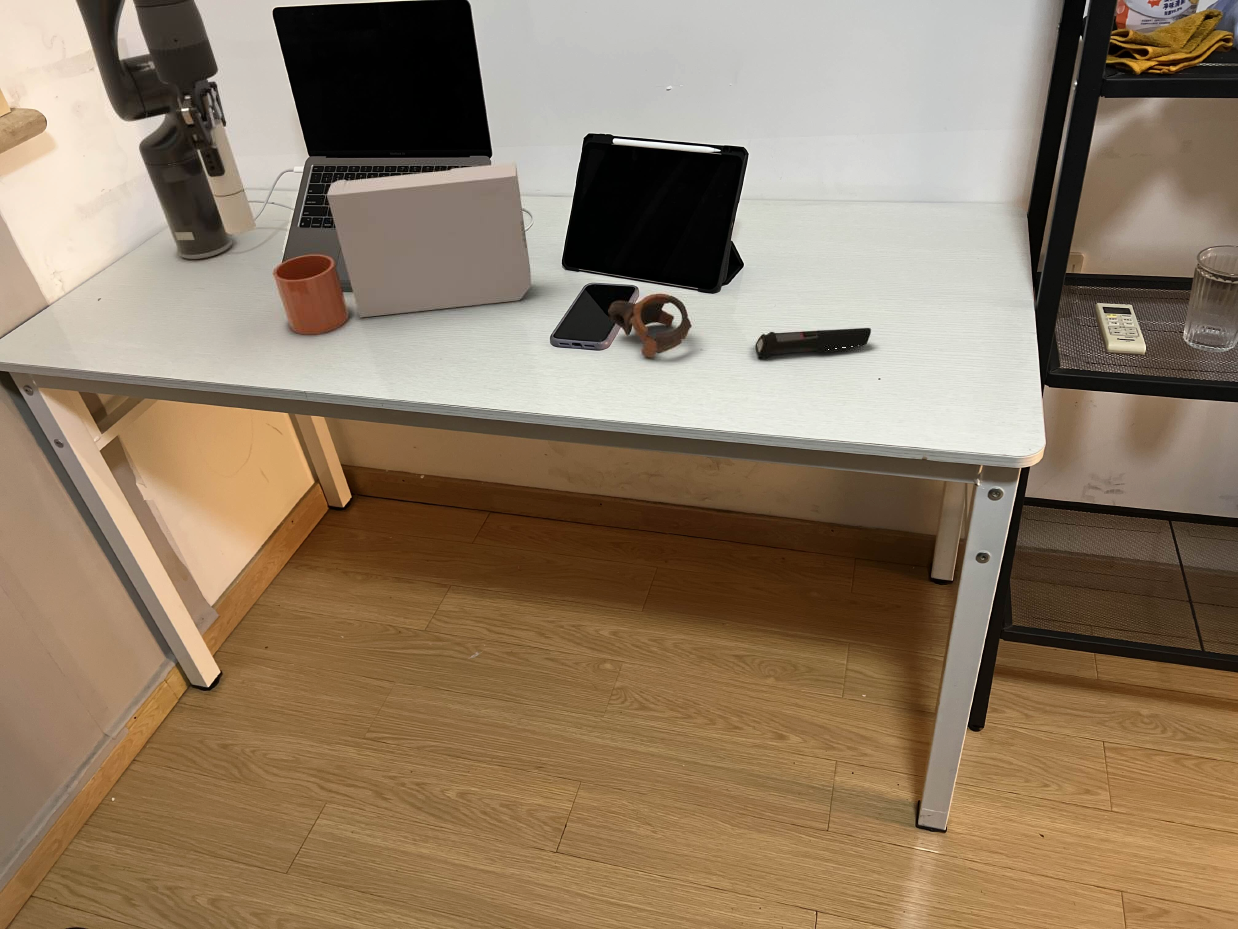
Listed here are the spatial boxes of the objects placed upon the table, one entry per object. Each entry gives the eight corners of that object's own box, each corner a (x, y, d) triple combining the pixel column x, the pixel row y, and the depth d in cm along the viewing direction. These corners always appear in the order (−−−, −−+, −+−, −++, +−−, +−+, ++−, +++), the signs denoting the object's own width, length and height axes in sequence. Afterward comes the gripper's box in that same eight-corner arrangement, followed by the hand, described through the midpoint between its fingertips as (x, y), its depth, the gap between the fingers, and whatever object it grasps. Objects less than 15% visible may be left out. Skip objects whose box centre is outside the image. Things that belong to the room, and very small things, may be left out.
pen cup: (294, 310, 147) (277, 258, 142) (350, 303, 148) (336, 251, 143) (286, 338, 140) (269, 284, 135) (346, 330, 141) (331, 276, 136)
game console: (363, 301, 148) (331, 180, 136) (532, 282, 149) (515, 161, 137) (359, 318, 144) (326, 195, 132) (533, 299, 145) (516, 175, 133)
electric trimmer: (871, 354, 126) (874, 334, 124) (758, 361, 126) (759, 341, 124) (865, 340, 129) (867, 320, 127) (754, 347, 129) (755, 327, 127)
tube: (246, 234, 133) (210, 129, 124) (219, 233, 134) (182, 129, 125) (261, 222, 136) (227, 118, 127) (235, 221, 137) (200, 118, 128)
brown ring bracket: (691, 325, 136) (700, 295, 128) (676, 380, 132) (684, 352, 125) (613, 304, 136) (617, 272, 129) (596, 357, 133) (599, 328, 125)
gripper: (194, 49, 114) (238, 184, 124) (217, 23, 125) (256, 149, 136) (132, 56, 113) (182, 191, 124) (161, 29, 125) (204, 155, 135)
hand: (220, 168), depth 130 cm, fingers closed on tube, 4 cm apart
